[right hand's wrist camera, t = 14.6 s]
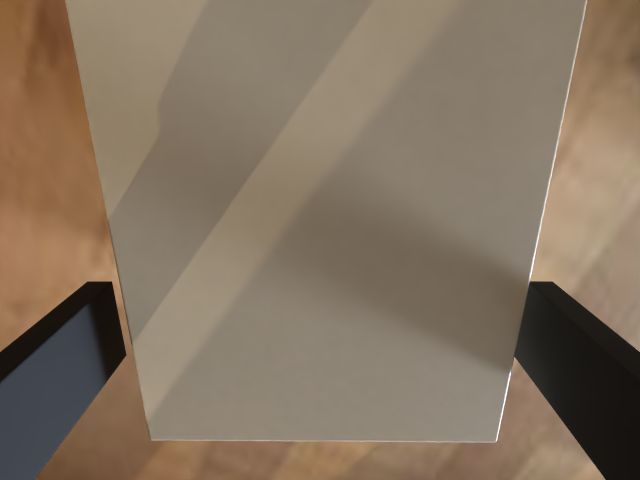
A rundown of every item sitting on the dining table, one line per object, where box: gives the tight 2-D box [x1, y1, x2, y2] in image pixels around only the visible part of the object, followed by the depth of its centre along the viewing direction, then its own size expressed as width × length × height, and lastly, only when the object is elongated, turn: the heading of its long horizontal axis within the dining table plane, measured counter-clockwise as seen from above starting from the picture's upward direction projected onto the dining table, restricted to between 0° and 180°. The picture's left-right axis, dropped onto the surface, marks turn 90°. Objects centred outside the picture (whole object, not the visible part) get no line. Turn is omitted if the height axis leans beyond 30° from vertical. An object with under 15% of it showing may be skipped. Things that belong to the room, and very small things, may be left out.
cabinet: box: [65, 0, 587, 442], centre depth 14 cm, size 19×11×10 cm, turn 0°
